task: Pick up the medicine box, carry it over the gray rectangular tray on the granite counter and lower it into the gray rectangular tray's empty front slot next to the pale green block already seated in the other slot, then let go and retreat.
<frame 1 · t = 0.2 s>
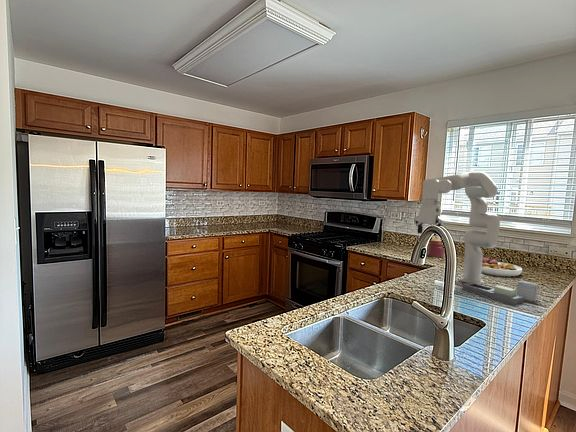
hand: (427, 234, 168), 31 cm above the worktop, fingers open, 9 cm apart
gray rectangular tray: (491, 295, 166), on the worktop
canister: (435, 256, 270), on the worktop
bowl: (495, 272, 220), on the worktop
green clip block: (504, 299, 160), resting in gray rectangular tray
medicine box: (526, 299, 162), on the worktop
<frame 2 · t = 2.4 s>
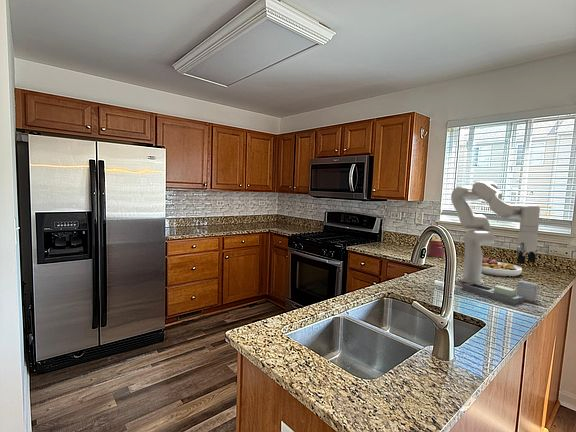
hand: (526, 262, 160), 19 cm above the worktop, fingers open, 9 cm apart
nothing on the worktop moved.
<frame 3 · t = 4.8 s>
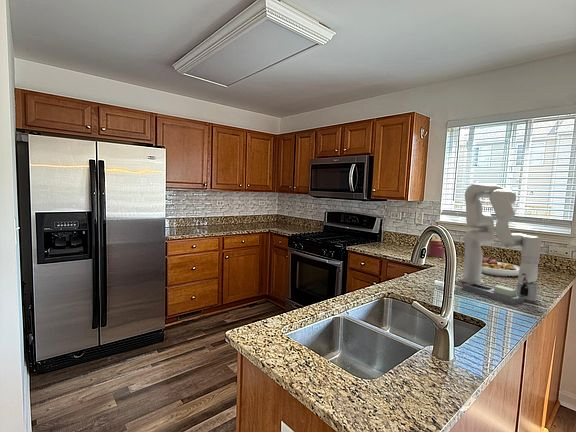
hand: (526, 294, 162), 3 cm above the worktop, fingers closed on medicine box, 5 cm apart
medicine box: (526, 299, 162), on the worktop, touching gripper
everything else where it was.
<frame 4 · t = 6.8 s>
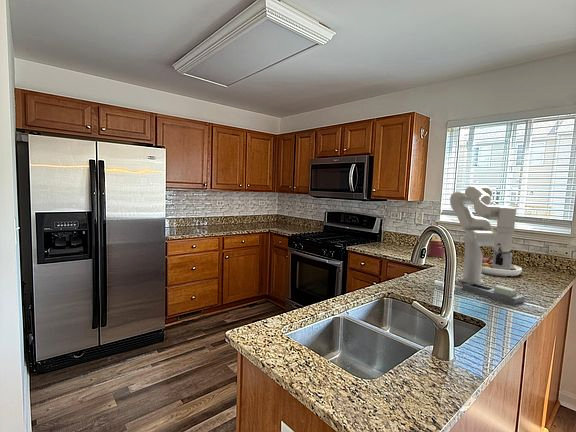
hand: (501, 263, 166), 17 cm above the worktop, fingers closed on medicine box, 5 cm apart
medicine box: (501, 268, 166), point 14 cm above the worktop, touching gripper
everything else where it was.
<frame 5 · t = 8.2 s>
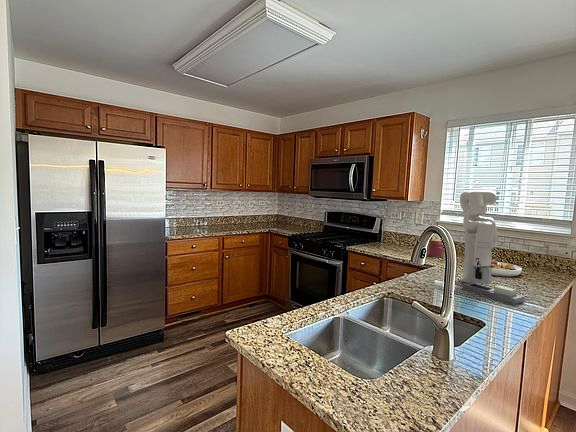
hand: (481, 278, 170), 8 cm above the worktop, fingers closed on medicine box, 5 cm apart
medicine box: (481, 283, 170), point 5 cm above the worktop, touching gripper
everything else where it was.
when the fingers open (4 cm above the worktop, at t = 9.4 s): medicine box drops 1 cm, resting in gray rectangular tray.
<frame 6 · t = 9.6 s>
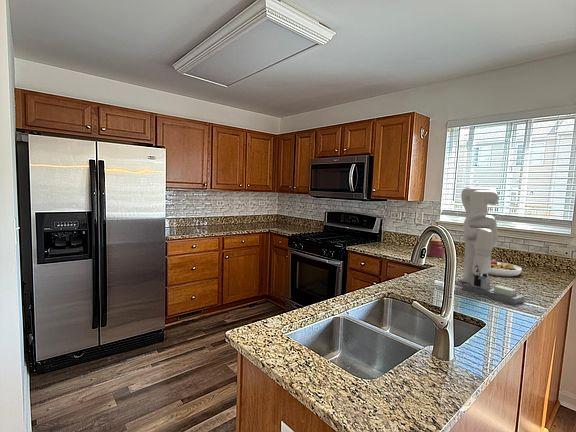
hand: (480, 285, 171), 4 cm above the worktop, fingers open, 6 cm apart
medicine box: (479, 292, 171), resting in gray rectangular tray
everything else where it was.
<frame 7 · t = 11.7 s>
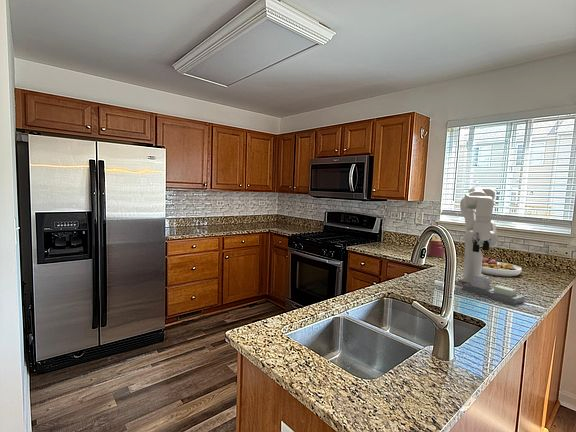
hand: (480, 251, 170), 23 cm above the worktop, fingers open, 9 cm apart
nothing on the worktop moved.
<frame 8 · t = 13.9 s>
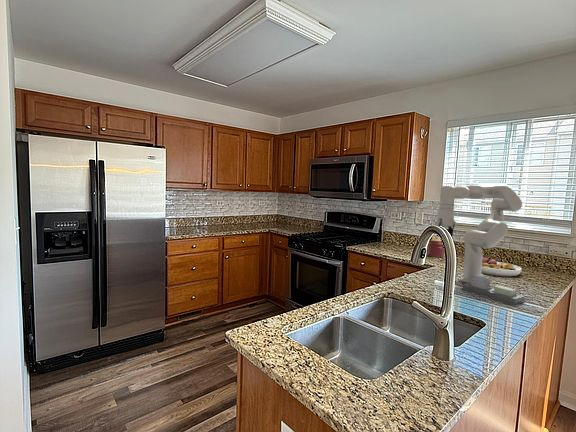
hand: (444, 236, 184), 28 cm above the worktop, fingers open, 9 cm apart
nothing on the worktop moved.
at the end: medicine box 0.1 cm from the target spot on the gray rectangular tray, point 0.0 cm above the gray rectangular tray's base; medicine box tilted 0°; the gripper is holding nothing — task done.
